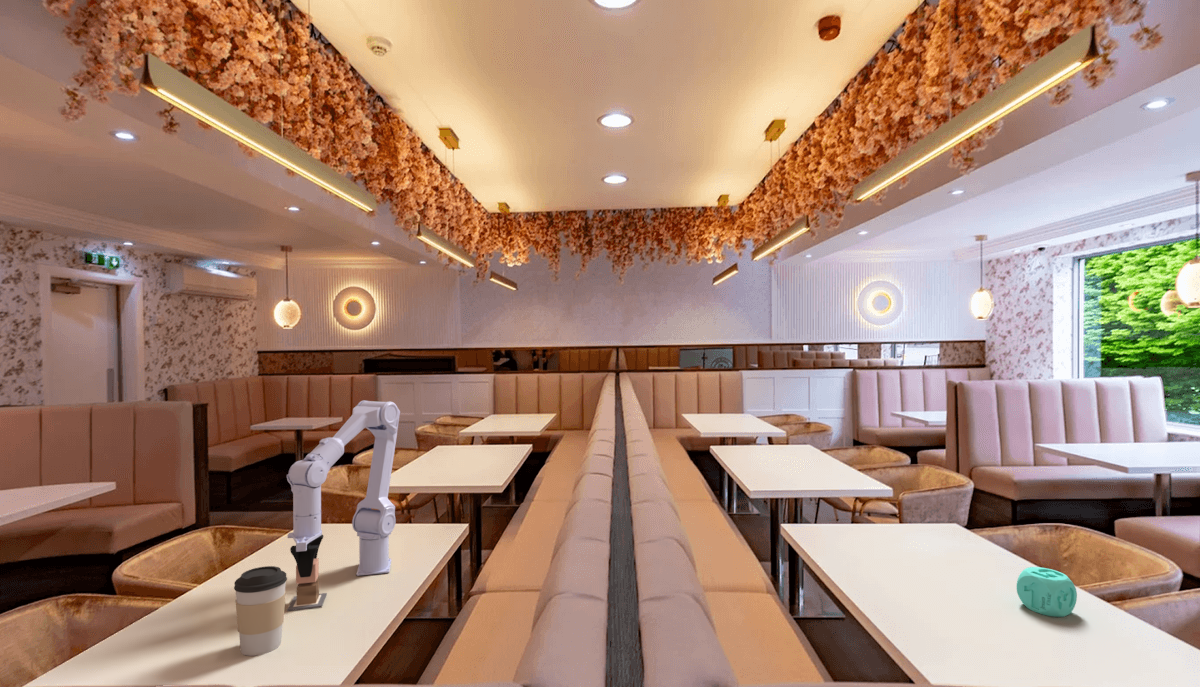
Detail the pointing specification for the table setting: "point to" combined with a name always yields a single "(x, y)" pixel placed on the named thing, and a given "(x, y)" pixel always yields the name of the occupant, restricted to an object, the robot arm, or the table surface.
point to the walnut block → (307, 593)
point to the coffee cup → (260, 609)
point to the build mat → (318, 604)
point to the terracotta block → (313, 575)
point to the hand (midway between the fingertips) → (307, 572)
